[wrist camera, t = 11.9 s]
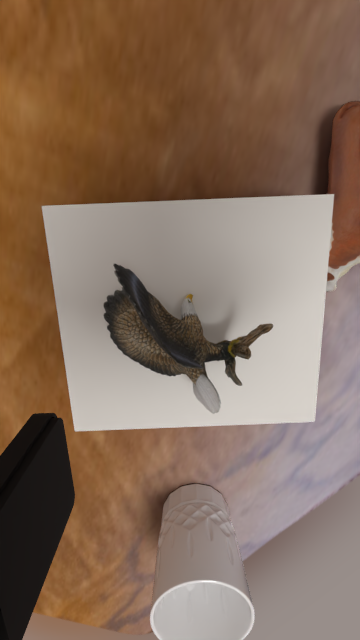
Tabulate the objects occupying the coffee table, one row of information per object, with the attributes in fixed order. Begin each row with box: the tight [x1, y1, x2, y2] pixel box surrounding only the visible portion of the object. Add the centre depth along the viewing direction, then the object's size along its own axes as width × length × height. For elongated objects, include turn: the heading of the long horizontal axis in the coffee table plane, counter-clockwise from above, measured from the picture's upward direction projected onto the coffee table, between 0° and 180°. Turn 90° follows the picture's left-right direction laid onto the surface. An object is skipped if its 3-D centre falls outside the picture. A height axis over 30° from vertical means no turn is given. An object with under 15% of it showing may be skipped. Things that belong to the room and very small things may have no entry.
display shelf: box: [42, 194, 334, 431], centre depth 25 cm, size 18×16×6 cm
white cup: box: [150, 484, 255, 640], centre depth 29 cm, size 8×8×10 cm
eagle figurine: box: [103, 264, 273, 414], centre depth 20 cm, size 8×7×9 cm
